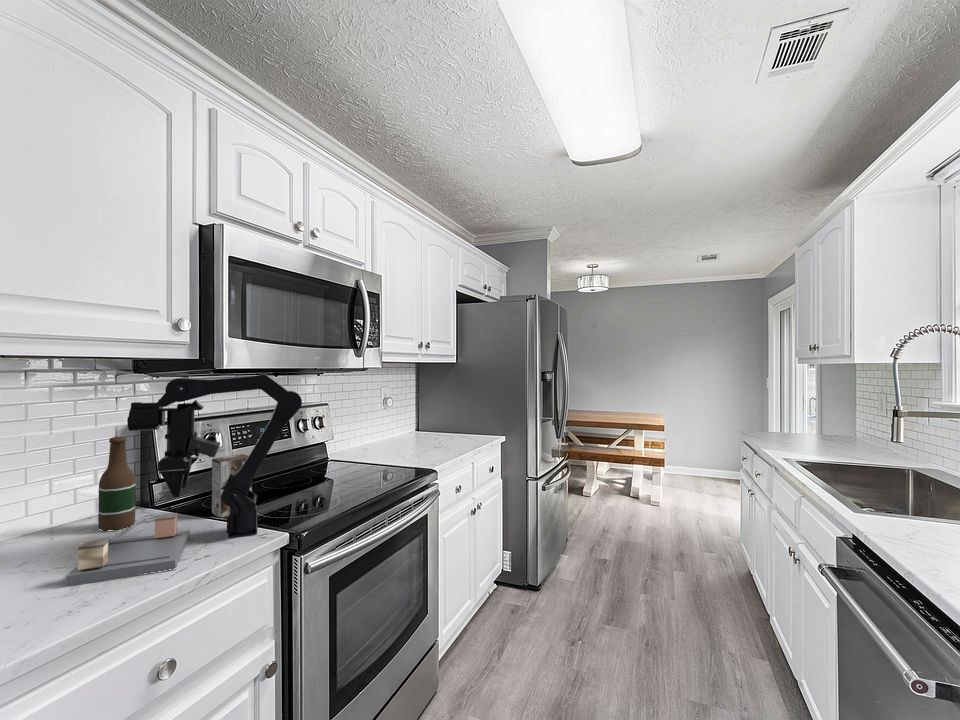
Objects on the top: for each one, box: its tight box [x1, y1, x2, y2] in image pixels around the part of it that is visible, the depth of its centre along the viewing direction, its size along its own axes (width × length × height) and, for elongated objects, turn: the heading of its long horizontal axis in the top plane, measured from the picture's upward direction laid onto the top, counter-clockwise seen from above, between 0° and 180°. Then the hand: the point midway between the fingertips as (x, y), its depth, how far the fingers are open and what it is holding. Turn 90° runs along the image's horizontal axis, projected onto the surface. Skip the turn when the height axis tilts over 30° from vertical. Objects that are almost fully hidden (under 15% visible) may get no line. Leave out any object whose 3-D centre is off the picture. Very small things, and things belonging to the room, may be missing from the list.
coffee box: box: [211, 453, 253, 518], centre depth 137 cm, size 9×6×16 cm
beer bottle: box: [97, 435, 137, 532], centre depth 124 cm, size 8×8×24 cm
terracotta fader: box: [153, 512, 178, 538], centre depth 111 cm, size 4×3×4 cm
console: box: [66, 530, 191, 587], centre depth 103 cm, size 18×19×2 cm
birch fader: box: [77, 538, 109, 570], centre depth 94 cm, size 4×3×4 cm
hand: (180, 492), depth 114 cm, fingers open, 9 cm apart
